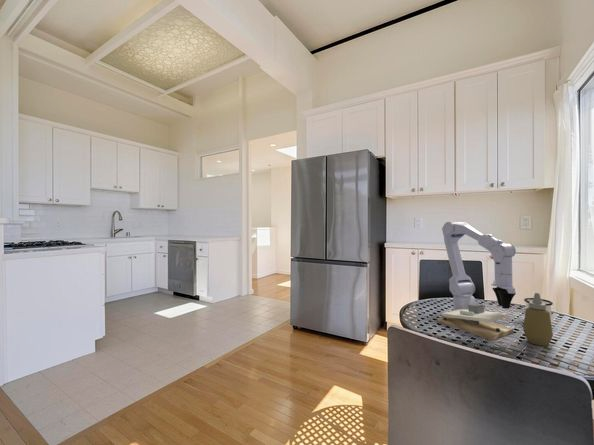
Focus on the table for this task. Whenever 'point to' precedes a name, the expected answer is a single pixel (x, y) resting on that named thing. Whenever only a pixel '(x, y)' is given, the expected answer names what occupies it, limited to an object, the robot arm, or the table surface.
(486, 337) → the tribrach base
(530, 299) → the mug
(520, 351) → the table surface
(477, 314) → the level plate
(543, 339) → the squeeze bottle
